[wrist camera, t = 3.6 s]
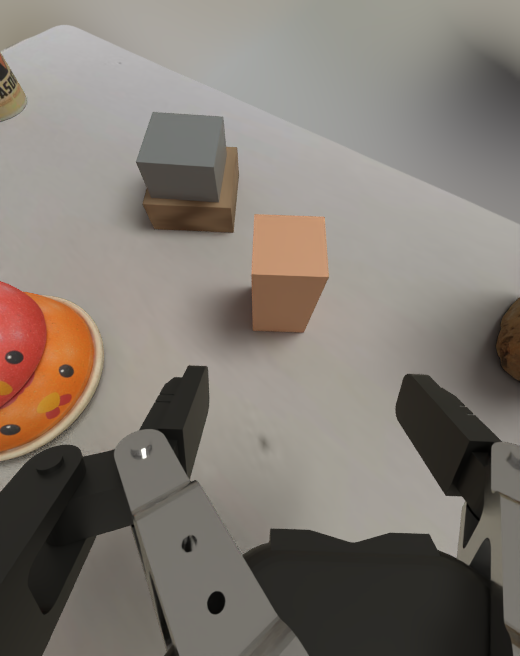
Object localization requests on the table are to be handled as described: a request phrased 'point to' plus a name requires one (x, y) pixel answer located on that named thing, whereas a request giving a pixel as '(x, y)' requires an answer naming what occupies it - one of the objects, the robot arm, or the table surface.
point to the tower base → (199, 206)
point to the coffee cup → (10, 93)
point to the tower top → (183, 157)
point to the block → (510, 341)
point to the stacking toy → (43, 368)
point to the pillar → (287, 271)
